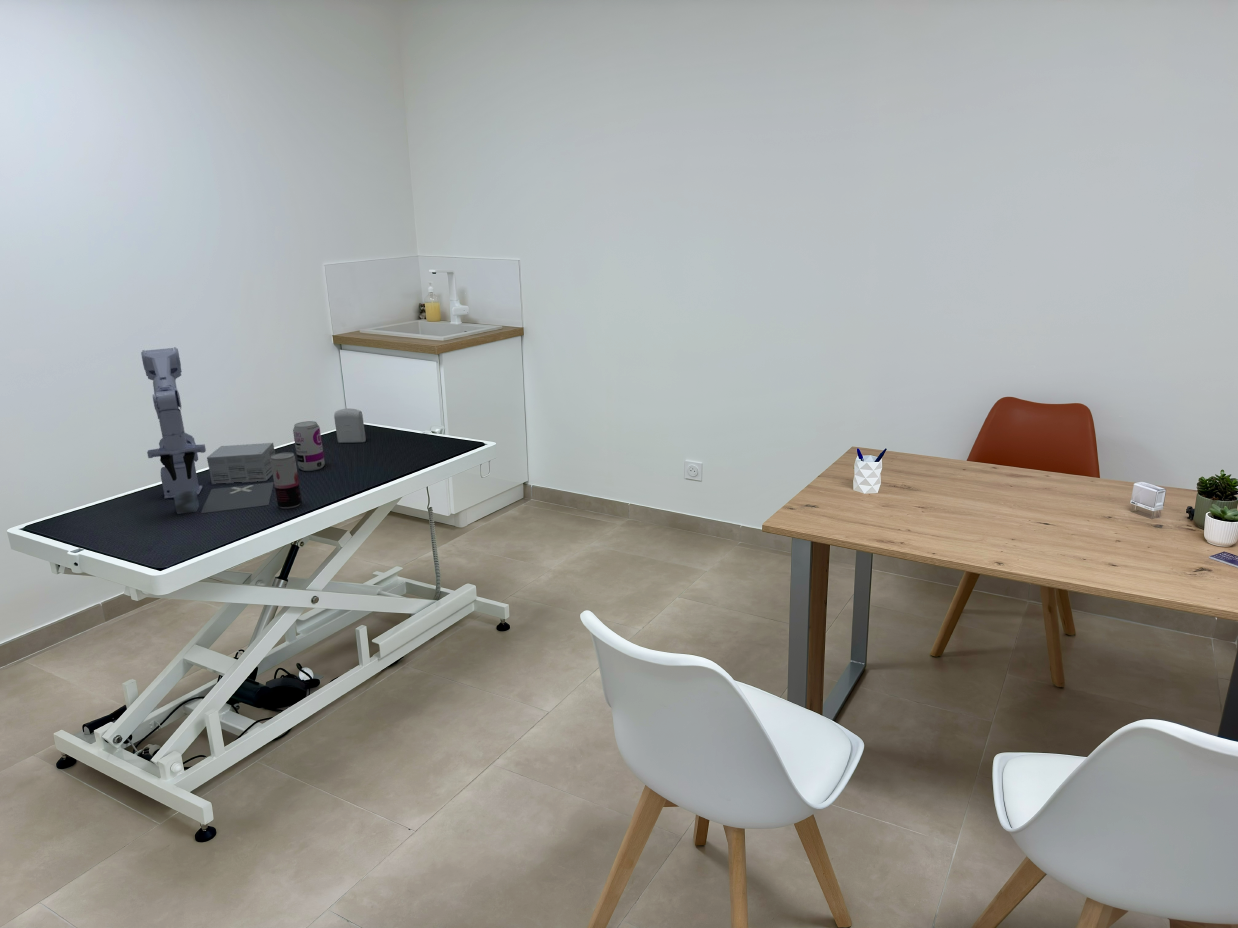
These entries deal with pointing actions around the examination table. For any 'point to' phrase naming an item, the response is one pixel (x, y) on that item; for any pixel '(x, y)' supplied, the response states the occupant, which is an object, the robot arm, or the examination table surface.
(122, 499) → the examination table surface
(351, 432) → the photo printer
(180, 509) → the slate cube
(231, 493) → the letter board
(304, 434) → the supplement can
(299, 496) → the beverage can
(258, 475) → the supplement box
